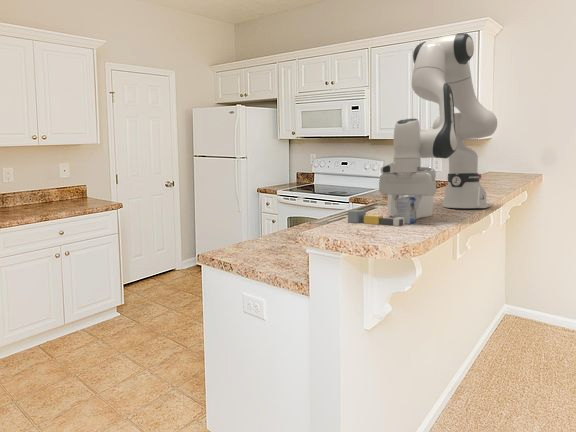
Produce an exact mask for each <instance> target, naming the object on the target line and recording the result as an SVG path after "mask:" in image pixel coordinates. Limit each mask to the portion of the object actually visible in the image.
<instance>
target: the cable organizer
mask: <svg viewBox="0 0 576 432" xmlns="http://www.w3.org/2000/svg"><path fill="white" fill-rule="evenodd" d="M403 197H415V195H399V198H403ZM433 214H434V195H431V196H426V195H422V199H421V201H420V202H419V203H418V209H416V220H417V219H420V218H426V217H431V216H432V215H433ZM387 215H388V216H389V217H390V218H397V208H396V207H395V202H394V200H393V198H392V195H387Z"/></svg>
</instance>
